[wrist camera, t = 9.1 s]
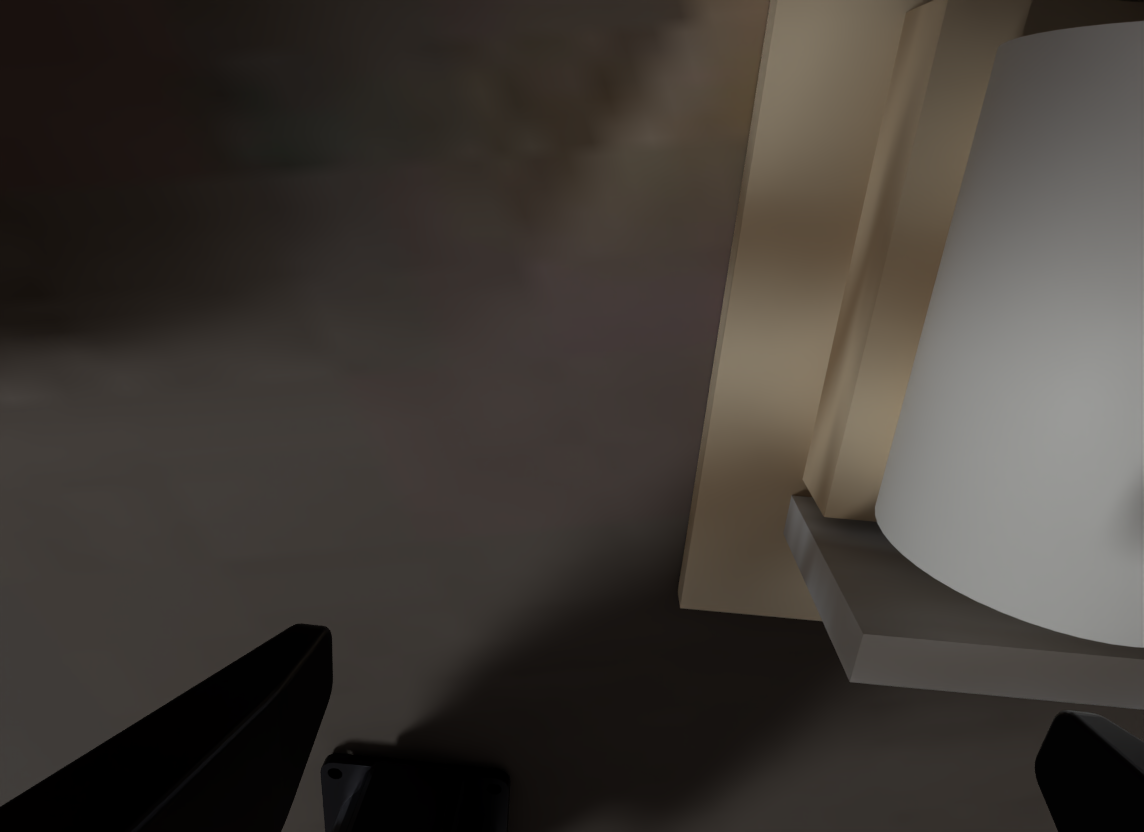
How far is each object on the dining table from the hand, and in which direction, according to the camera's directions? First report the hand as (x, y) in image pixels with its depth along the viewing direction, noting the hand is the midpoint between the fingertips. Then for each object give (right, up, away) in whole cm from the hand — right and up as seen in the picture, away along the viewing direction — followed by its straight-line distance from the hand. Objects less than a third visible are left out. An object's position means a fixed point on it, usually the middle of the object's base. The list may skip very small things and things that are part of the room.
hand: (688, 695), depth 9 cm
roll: (+8, +6, +7) cm, 12 cm away
